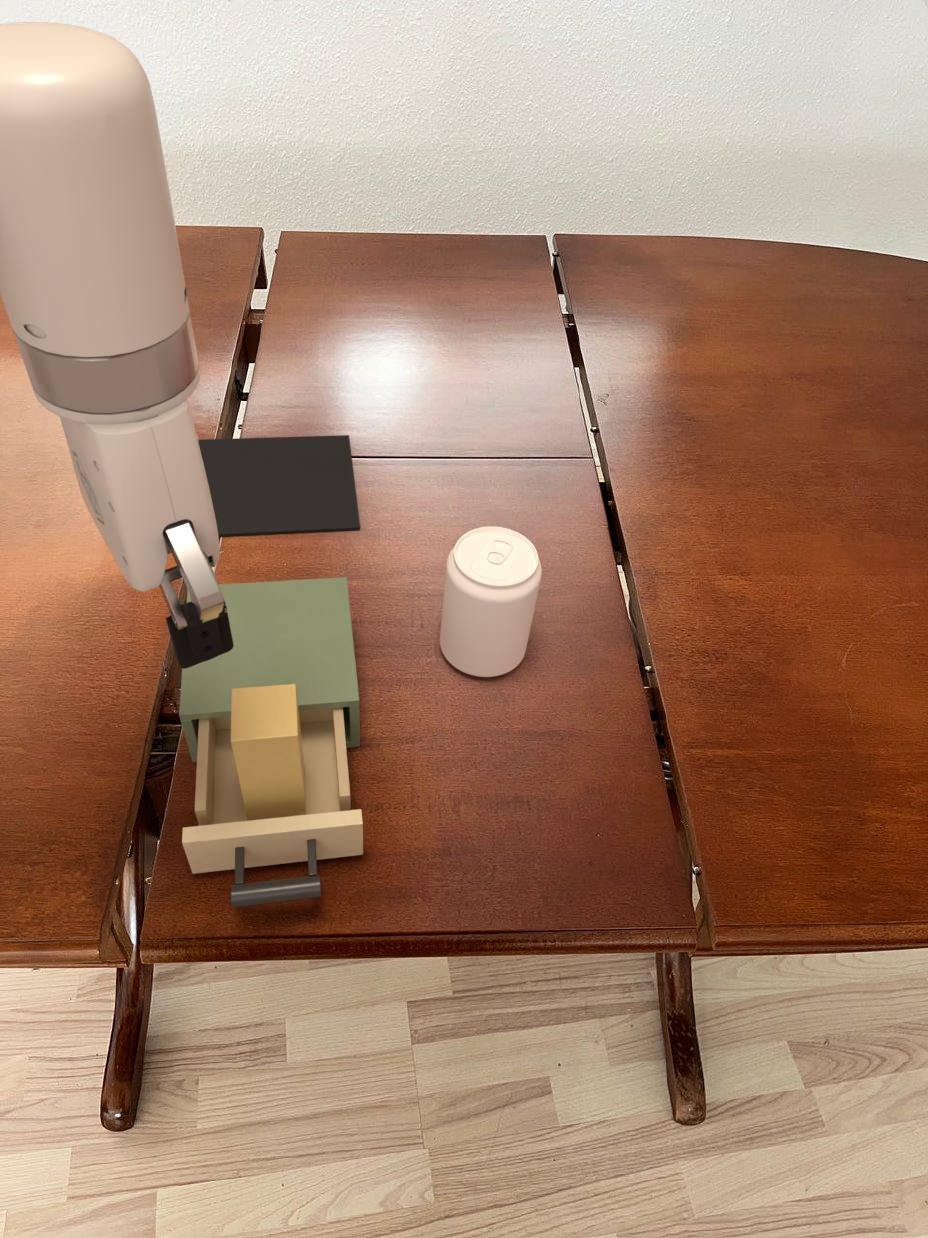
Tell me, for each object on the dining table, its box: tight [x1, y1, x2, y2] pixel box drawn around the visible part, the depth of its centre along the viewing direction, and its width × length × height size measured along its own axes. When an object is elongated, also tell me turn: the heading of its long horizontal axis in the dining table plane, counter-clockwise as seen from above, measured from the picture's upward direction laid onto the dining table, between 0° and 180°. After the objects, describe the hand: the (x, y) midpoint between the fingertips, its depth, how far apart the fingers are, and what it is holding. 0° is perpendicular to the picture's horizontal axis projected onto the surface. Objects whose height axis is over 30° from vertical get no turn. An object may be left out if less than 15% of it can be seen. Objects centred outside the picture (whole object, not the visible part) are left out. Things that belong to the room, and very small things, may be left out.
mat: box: [198, 434, 361, 538], centre depth 93 cm, size 20×16×1 cm
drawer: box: [181, 707, 364, 909], centre depth 64 cm, size 17×12×5 cm
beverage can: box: [439, 525, 543, 678], centre depth 76 cm, size 8×8×12 cm
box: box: [231, 684, 307, 820], centre depth 62 cm, size 4×4×11 cm
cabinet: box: [178, 576, 361, 763], centre depth 73 cm, size 14×14×7 cm
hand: (175, 602), depth 52 cm, fingers open, 9 cm apart
